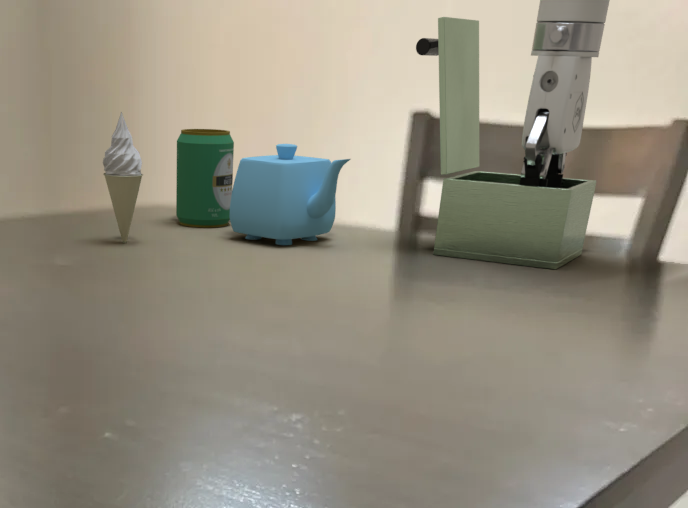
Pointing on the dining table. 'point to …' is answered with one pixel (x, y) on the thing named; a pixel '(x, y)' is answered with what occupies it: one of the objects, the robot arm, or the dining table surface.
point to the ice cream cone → (123, 176)
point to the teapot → (284, 196)
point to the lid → (457, 91)
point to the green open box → (512, 219)
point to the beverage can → (204, 177)
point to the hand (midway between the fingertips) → (536, 209)
